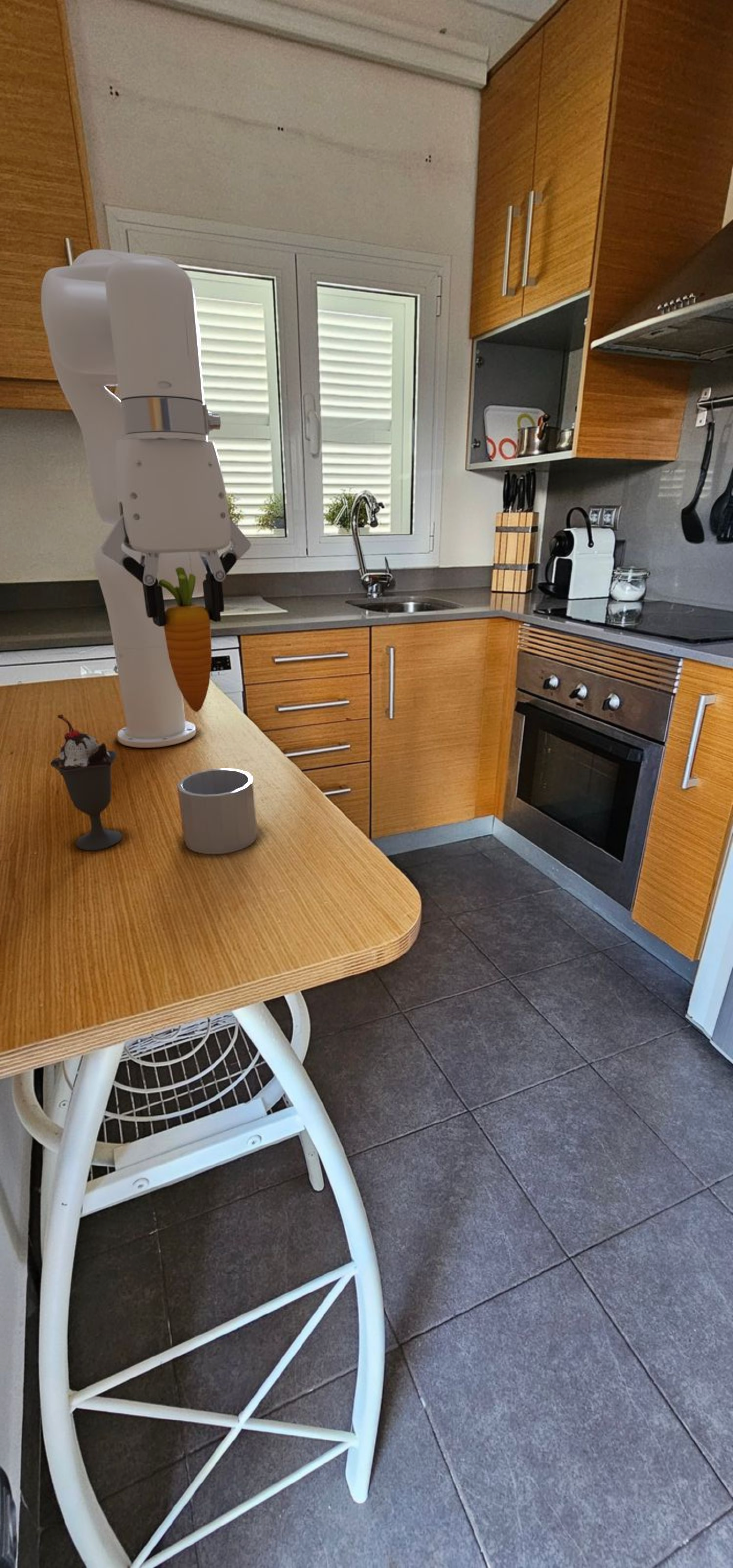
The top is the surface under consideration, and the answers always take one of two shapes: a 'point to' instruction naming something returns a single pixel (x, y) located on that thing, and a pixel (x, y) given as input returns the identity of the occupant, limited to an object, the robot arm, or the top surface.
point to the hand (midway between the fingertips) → (186, 620)
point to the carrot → (188, 641)
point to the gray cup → (218, 810)
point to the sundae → (88, 783)
